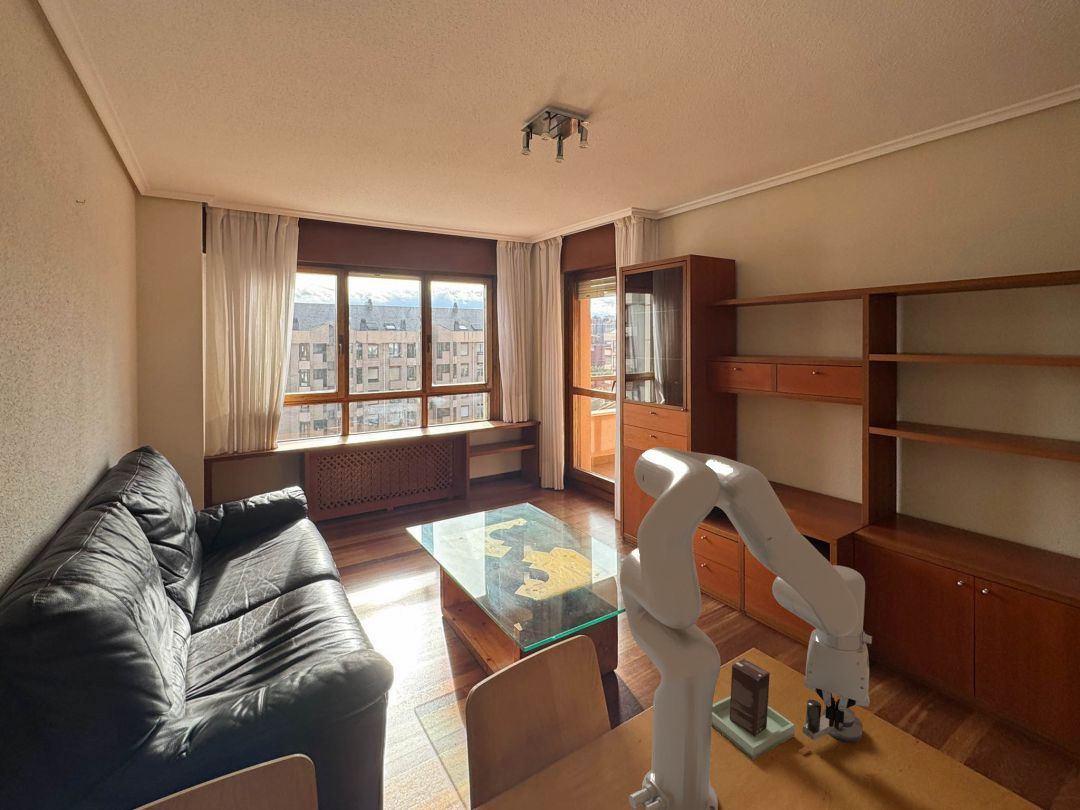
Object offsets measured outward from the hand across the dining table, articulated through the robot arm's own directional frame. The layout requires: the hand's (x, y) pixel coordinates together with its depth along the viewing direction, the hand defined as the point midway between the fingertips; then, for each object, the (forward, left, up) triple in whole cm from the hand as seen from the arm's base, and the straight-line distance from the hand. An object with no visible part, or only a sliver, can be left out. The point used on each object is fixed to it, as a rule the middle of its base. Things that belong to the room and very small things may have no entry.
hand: (834, 723), depth 99 cm
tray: (-9, +12, -6) cm, 16 cm away
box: (-9, +12, -5) cm, 16 cm away
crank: (+3, +3, -3) cm, 5 cm away
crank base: (+2, +2, -6) cm, 7 cm away
